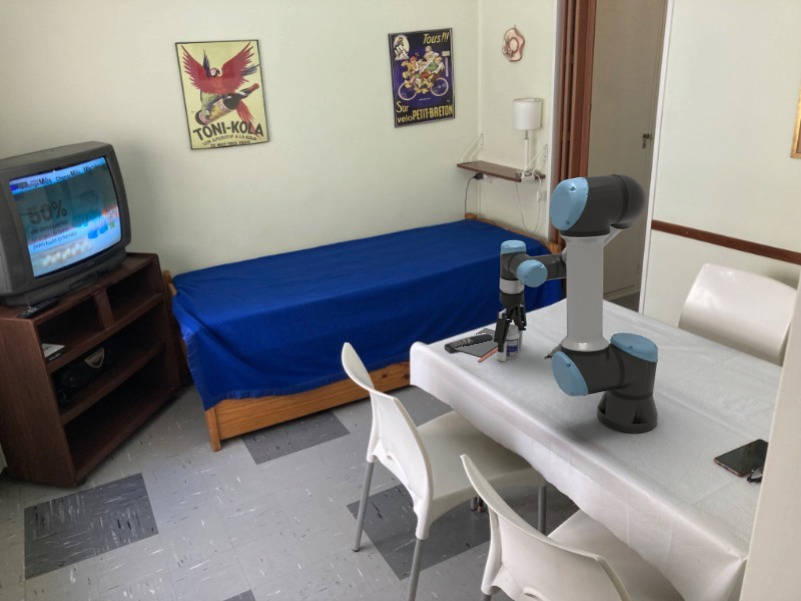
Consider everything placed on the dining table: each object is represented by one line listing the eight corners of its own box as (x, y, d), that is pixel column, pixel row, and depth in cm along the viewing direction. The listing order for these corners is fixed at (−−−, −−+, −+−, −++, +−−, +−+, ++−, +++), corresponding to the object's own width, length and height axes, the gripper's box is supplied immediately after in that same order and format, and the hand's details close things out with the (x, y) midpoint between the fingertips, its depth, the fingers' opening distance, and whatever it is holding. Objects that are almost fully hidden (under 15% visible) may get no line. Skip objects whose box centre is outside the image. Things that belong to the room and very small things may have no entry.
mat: (481, 357, 208) (481, 356, 208) (453, 349, 214) (453, 348, 214) (512, 336, 222) (512, 335, 222) (485, 329, 229) (485, 327, 228)
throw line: (480, 362, 205) (480, 361, 205) (477, 361, 205) (477, 360, 205) (520, 334, 223) (520, 333, 223) (518, 333, 224) (518, 332, 224)
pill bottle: (505, 350, 213) (505, 322, 209) (521, 353, 210) (522, 325, 206) (498, 357, 208) (498, 328, 204) (515, 360, 205) (515, 332, 202)
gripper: (504, 303, 190) (502, 370, 199) (539, 281, 206) (536, 345, 215) (482, 298, 195) (481, 364, 203) (518, 277, 211) (516, 339, 219)
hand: (509, 354), depth 209 cm, fingers open, 10 cm apart
